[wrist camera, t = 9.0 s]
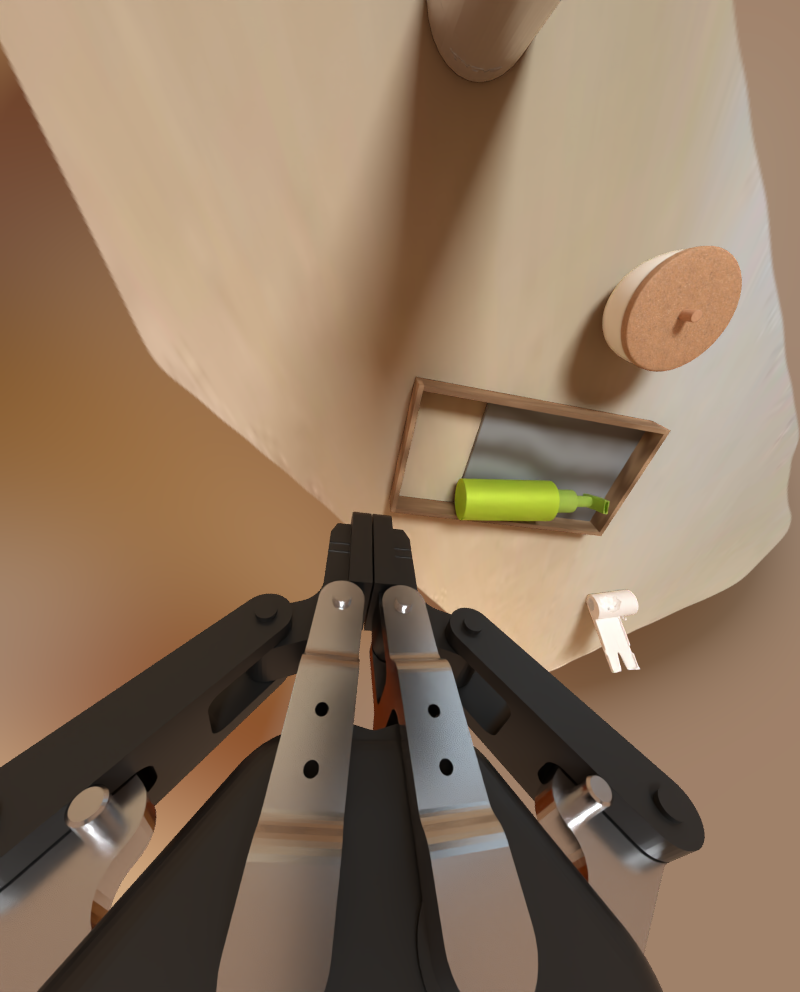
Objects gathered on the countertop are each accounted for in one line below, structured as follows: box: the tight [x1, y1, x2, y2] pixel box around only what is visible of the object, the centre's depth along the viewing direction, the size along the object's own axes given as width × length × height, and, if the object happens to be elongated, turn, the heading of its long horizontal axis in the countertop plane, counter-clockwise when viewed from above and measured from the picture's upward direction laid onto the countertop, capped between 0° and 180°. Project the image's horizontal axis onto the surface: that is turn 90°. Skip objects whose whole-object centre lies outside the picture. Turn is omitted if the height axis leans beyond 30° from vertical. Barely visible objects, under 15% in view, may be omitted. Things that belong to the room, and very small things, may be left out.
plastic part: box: [586, 589, 640, 673], centre depth 65 cm, size 8×10×12 cm
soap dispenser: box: [455, 479, 609, 521], centre depth 48 cm, size 6×7×20 cm
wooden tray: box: [390, 377, 670, 536], centre depth 48 cm, size 18×34×4 cm, turn 79°
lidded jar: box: [602, 246, 742, 372], centre depth 35 cm, size 11×11×9 cm
